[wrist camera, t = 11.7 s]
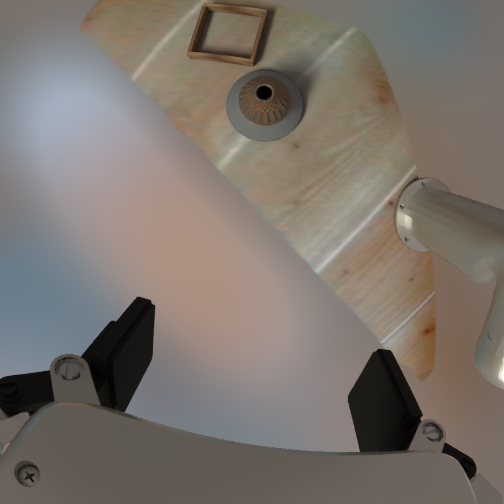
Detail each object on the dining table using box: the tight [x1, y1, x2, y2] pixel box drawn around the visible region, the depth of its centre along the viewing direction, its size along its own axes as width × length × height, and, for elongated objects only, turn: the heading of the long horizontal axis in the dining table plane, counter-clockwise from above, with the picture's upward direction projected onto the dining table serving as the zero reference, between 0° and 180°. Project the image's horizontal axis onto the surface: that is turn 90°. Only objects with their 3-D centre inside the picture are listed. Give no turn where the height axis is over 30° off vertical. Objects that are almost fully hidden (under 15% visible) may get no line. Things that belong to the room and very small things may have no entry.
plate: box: [226, 70, 303, 142], centre depth 38 cm, size 11×11×1 cm
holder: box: [187, 3, 268, 67], centre depth 34 cm, size 10×10×2 cm
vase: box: [239, 76, 292, 126], centre depth 33 cm, size 7×7×9 cm
